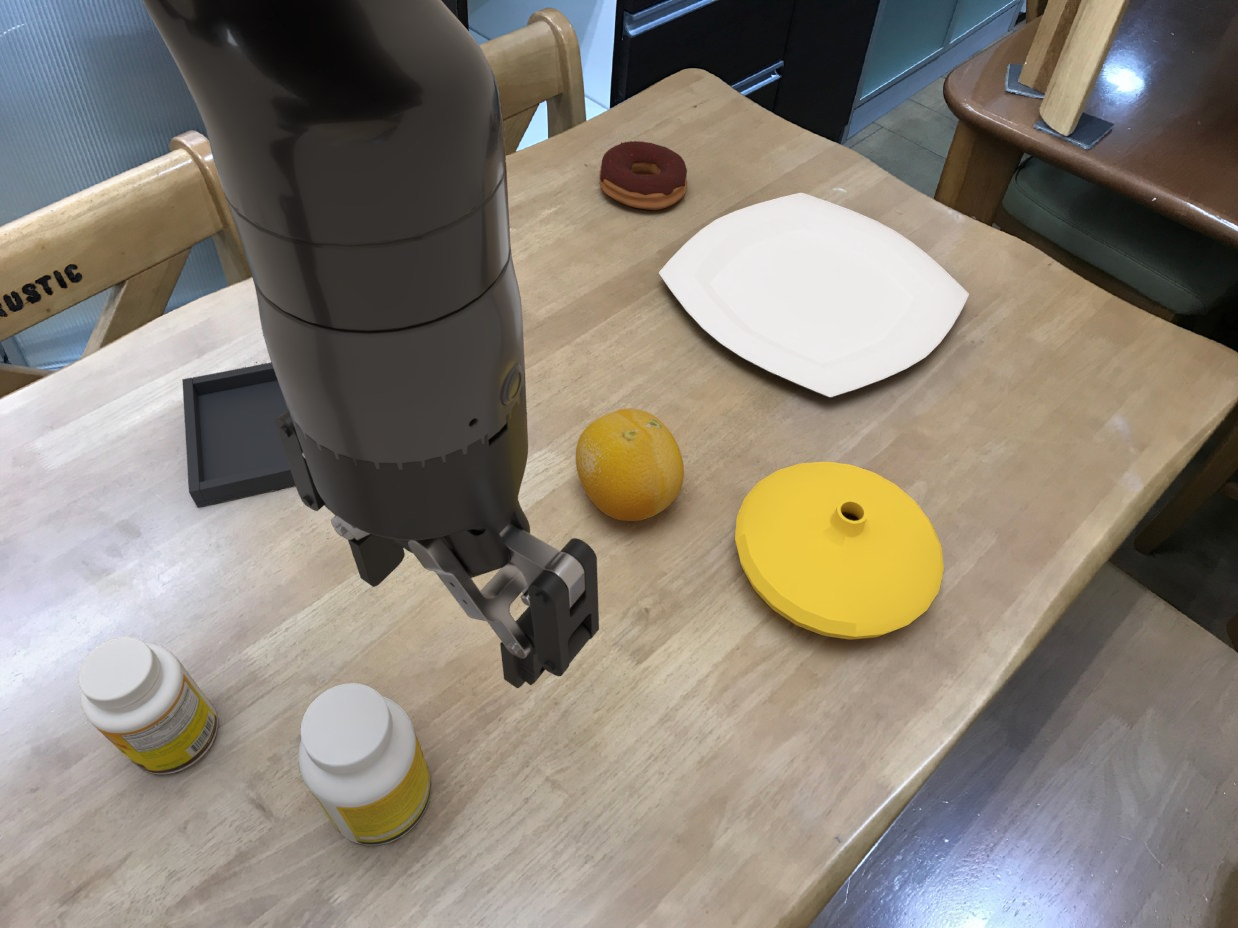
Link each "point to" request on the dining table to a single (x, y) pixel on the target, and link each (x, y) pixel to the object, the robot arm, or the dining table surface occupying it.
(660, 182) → the donut
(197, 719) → the supplement bottle
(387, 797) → the pill bottle
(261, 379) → the holder
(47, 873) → the dining table surface
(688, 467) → the dining table surface
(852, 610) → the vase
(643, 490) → the fruit
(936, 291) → the plate
